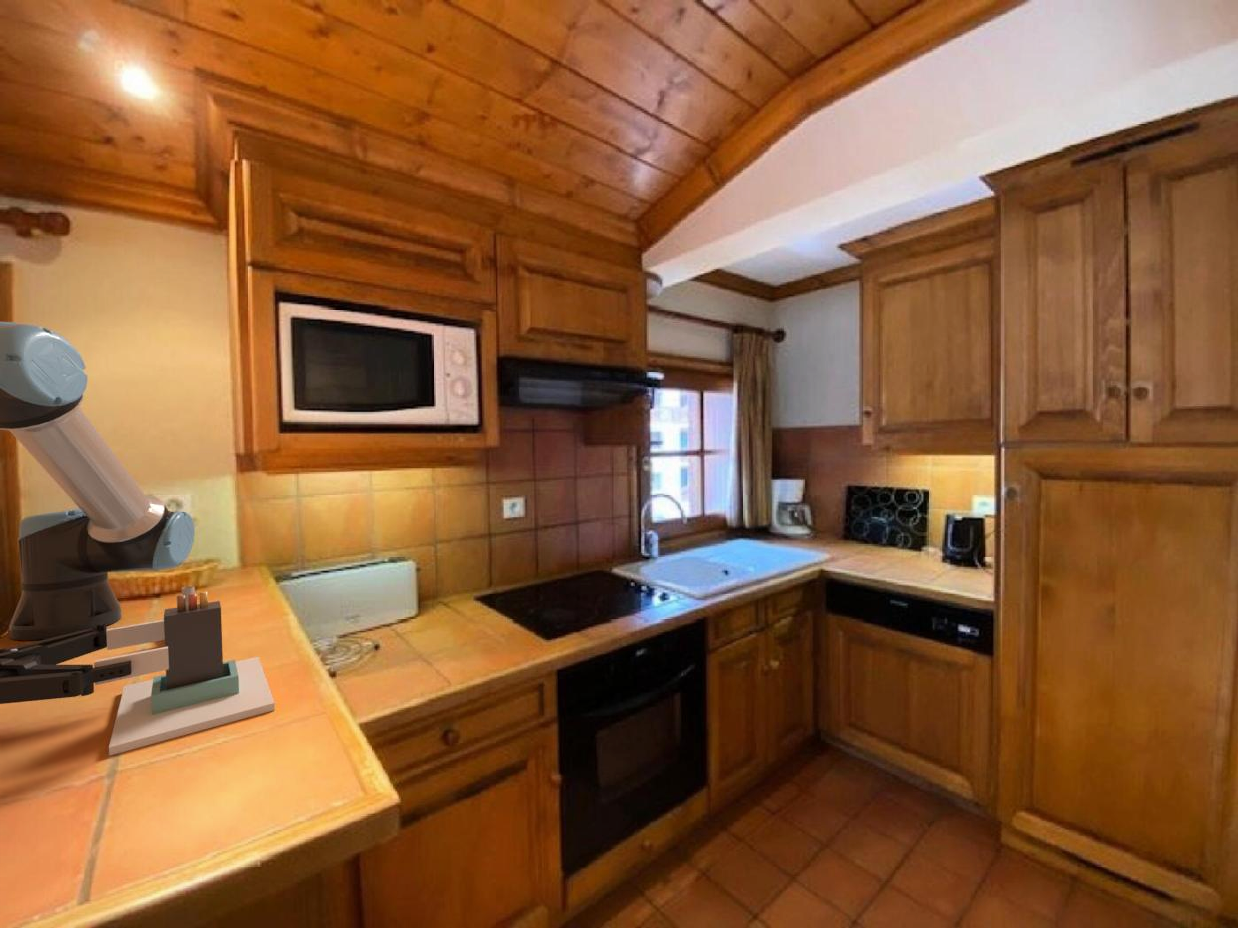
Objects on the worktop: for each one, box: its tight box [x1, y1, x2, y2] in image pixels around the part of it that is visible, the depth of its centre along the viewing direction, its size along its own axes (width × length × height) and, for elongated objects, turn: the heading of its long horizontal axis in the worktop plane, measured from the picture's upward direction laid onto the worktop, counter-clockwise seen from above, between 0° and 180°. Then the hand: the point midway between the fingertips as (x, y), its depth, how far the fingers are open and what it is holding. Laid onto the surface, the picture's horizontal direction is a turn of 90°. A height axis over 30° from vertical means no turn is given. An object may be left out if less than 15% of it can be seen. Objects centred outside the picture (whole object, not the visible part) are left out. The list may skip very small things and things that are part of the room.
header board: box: [108, 656, 276, 757], centre depth 73 cm, size 20×16×4 cm
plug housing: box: [163, 591, 224, 690], centre depth 72 cm, size 4×6×14 cm, turn 130°
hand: (169, 642), depth 71 cm, fingers open, 13 cm apart
